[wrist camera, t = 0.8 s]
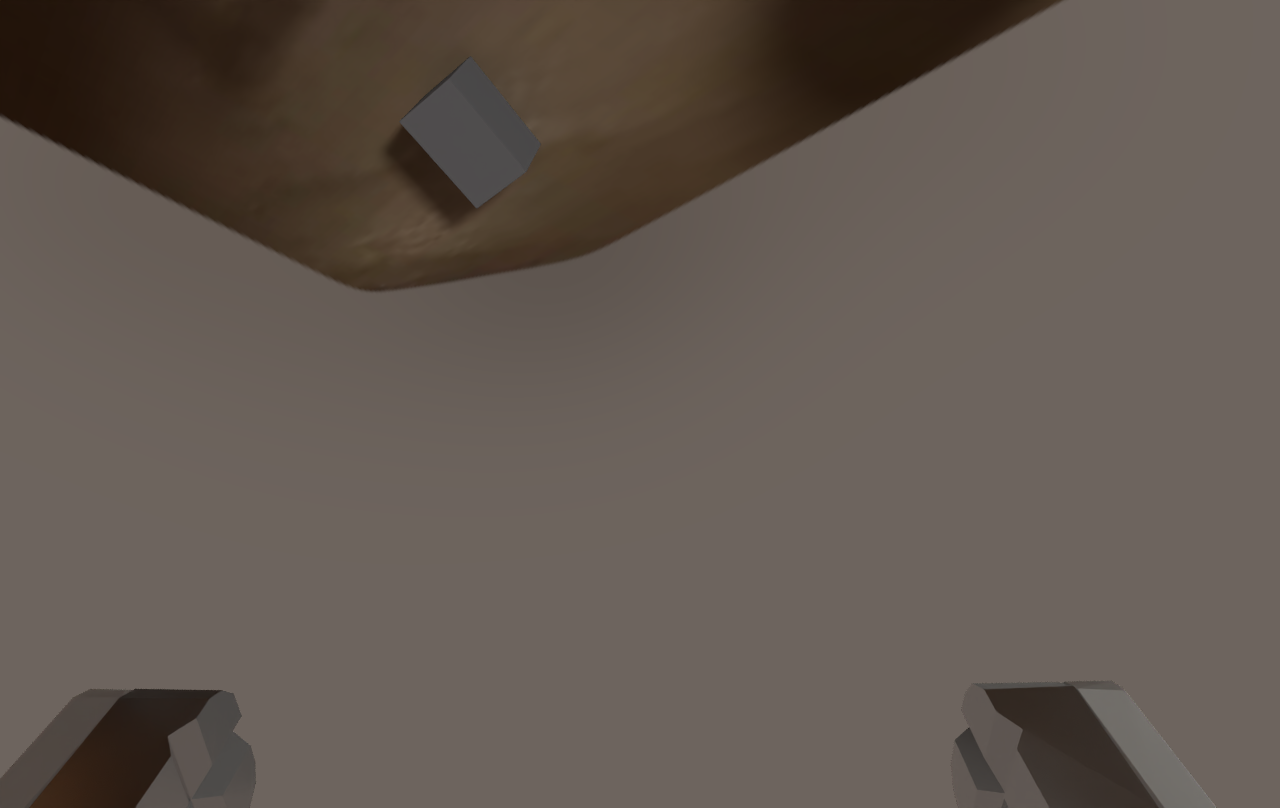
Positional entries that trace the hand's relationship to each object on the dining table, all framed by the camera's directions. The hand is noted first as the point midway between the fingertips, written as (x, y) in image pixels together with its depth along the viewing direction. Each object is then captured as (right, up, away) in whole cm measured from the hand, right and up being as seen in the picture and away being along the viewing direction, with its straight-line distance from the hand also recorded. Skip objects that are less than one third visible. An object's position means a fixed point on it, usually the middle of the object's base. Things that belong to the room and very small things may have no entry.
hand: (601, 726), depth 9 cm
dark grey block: (-10, +23, +44) cm, 51 cm away
